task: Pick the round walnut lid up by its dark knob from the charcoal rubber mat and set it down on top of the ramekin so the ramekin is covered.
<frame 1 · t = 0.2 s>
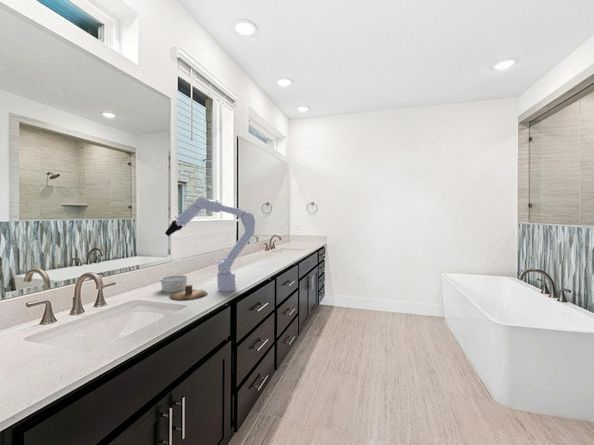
hand: (167, 233, 144), 31 cm above the table, tool tilted 45°, fingers open, 7 cm apart
lid: (188, 295, 140), resting on mat
mat: (188, 296, 140), on the table
ramekin: (174, 291, 152), on the table
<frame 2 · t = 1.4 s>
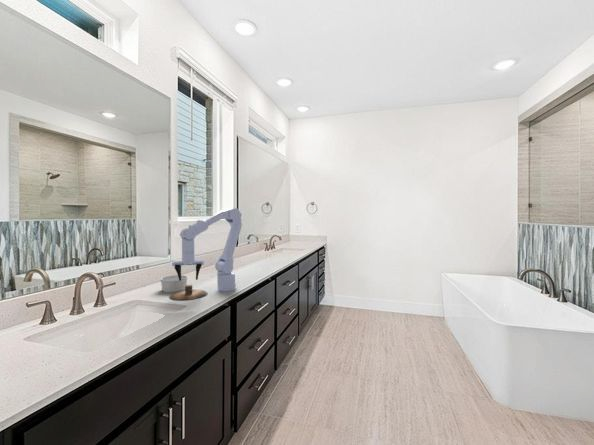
hand: (188, 279, 140), 8 cm above the table, tool pointing down, fingers open, 7 cm apart
nothing on the table moved.
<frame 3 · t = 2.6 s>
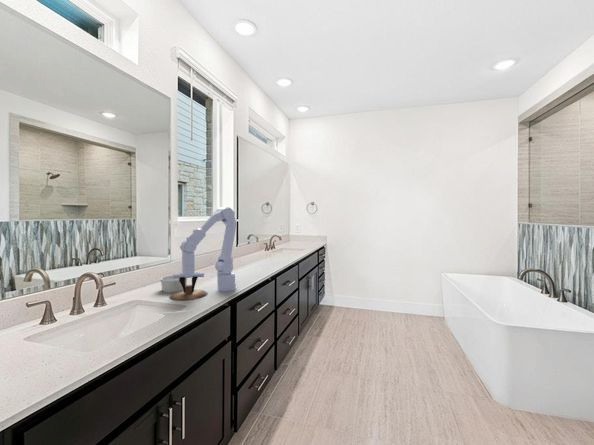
hand: (188, 292, 140), 2 cm above the table, tool pointing down, fingers closed on lid, 3 cm apart
lid: (188, 295, 140), resting on mat, touching gripper
everything else where it was.
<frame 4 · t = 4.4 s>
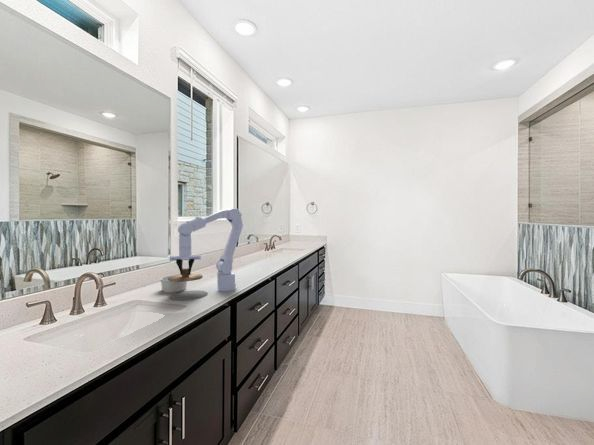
hand: (185, 274, 142), 10 cm above the table, tool pointing down, fingers closed on lid, 3 cm apart
lid: (185, 278, 142), point 8 cm above the table, touching gripper
everything else where it was.
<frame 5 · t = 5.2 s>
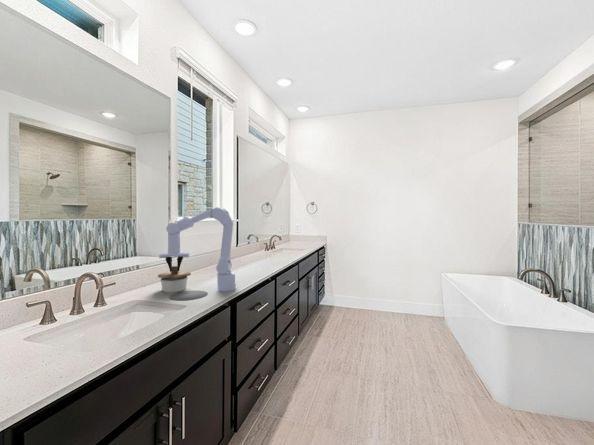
hand: (174, 271, 151), 10 cm above the table, tool pointing down, fingers closed on lid, 3 cm apart
lid: (174, 275, 151), point 8 cm above the table, touching gripper
everything else where it was.
when the fingers open (10 cm above the table, at t = 6.0 s): lid stays where it is, resting on ramekin.
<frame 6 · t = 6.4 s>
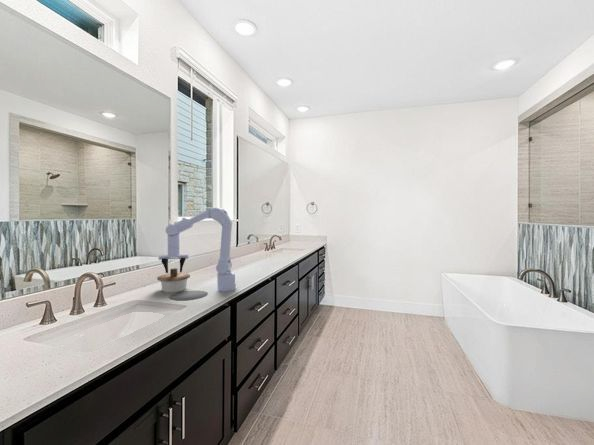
hand: (174, 272, 152), 10 cm above the table, tool pointing down, fingers open, 6 cm apart
lid: (174, 277, 151), point 7 cm above the table, touching ramekin
ramekin: (174, 291, 152), on the table, touching lid
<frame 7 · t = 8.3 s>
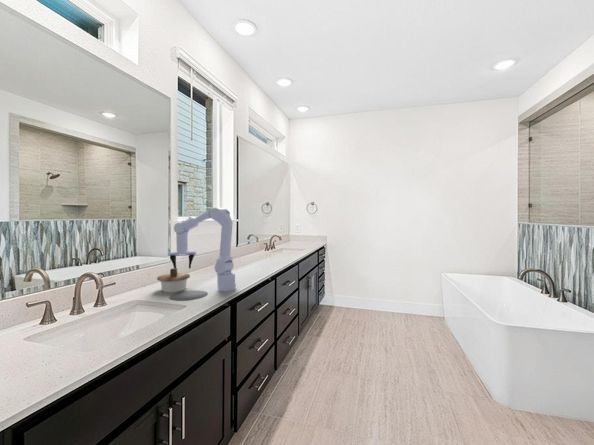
hand: (182, 268, 159), 10 cm above the table, tool pointing down, fingers open, 7 cm apart
nothing on the table moved.
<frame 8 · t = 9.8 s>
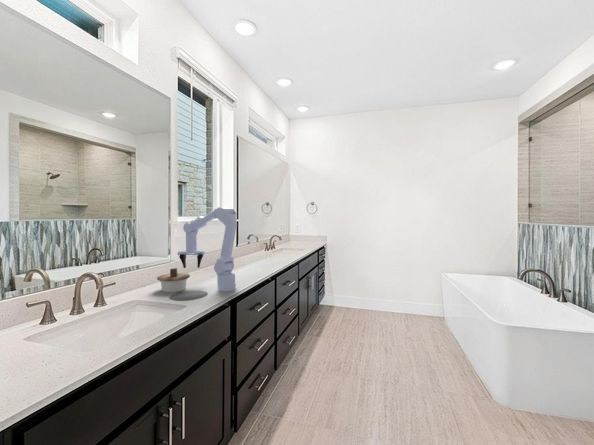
hand: (191, 267, 161), 10 cm above the table, tool pointing down, fingers open, 7 cm apart
nothing on the table moved.
at the end: lid 0.2 cm off-centre on the ramekin, point 7.1 cm above the ramekin's base; lid tilted 0°; the gripper is holding nothing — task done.
